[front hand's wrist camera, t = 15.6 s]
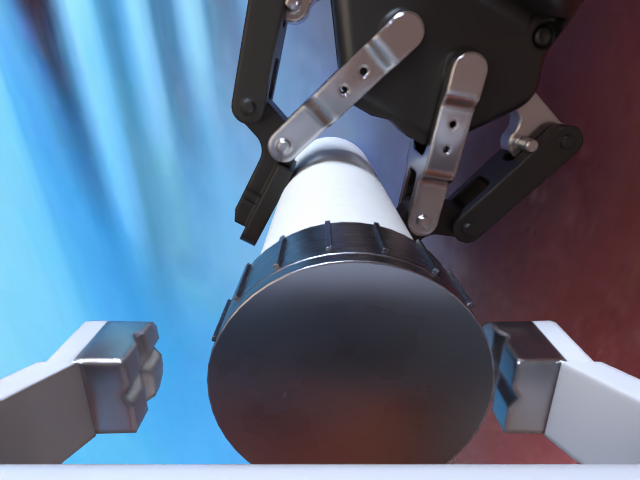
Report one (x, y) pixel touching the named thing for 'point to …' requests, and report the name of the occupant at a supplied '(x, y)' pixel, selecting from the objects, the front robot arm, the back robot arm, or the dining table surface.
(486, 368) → the lid
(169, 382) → the dining table surface
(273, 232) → the white cylinder
